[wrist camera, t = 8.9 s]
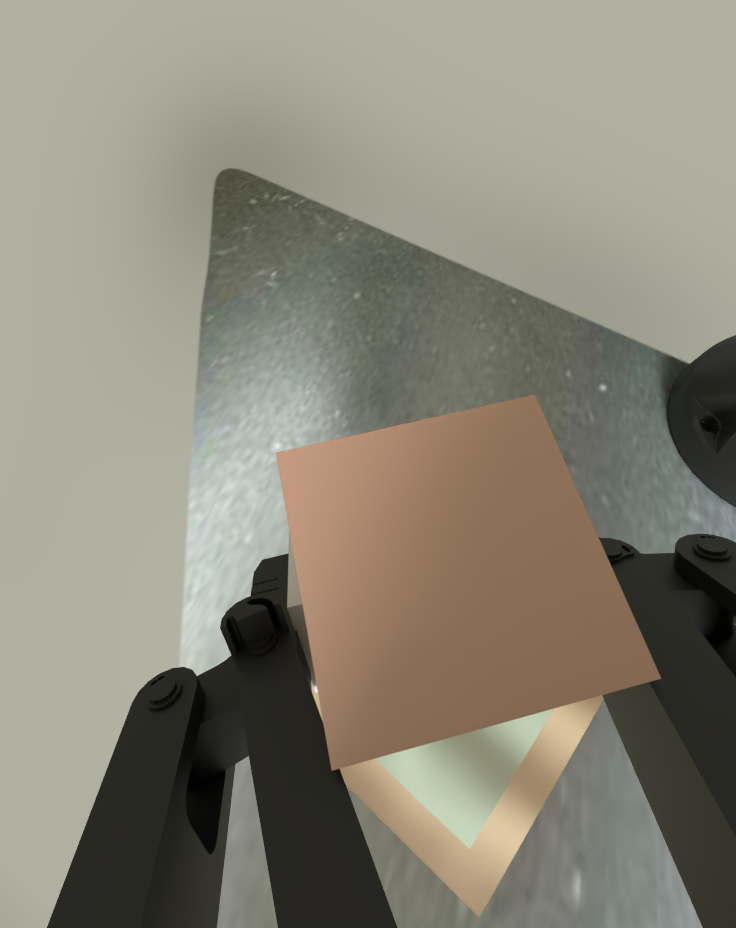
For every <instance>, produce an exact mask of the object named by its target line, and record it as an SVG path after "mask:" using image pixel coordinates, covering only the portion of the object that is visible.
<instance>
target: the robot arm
mask: <svg viewBox="0 0 736 928" xmlns="http://www.w3.org/2000/svg"><path fill="white" fill-rule="evenodd" d="M669 423H670V427H671V431H672V435H673V438H674V441H675V443H676V445H677V447H678V450H679V451H680V453H681V455H682V457H683V458H684V460H685V462H686V463H687V464H688V466H689V467H690V469H691V470H692V471H693V472H694V474H695V475H696V476H697V477H698V478H699V479H700V480H701V481H702V482H703V483H704V484H705V485H706V486H707V487H708V488H709V489H710V490H712V491H713V492H714V493H715V494H717V495H718V496H719V497H720V498H722V499H723V500H725V501H726V502H728V503H729V504H731V505H733V506H734V507H736V335H735V336H733V337H730V338H728V339H725V340H723V341H721V342H719V343H718V344H716V345H714V346H713V347H711V348H710V349H708V350H707V351H706V352H704V353H703V354H702V355H701V356H699V357H698V358H697V359H695V360H694V361H693V362H692V363H691V364H689V365H688V366H687V367H686V368H685V369H684V370H683V371H682V372H681V374H680V375H679V376H678V378H677V380H676V382H675V384H674V386H673V388H672V391H671V395H670V399H669ZM599 540H600V542H601V544H602V546H603V549H604V551H605V553H606V555H607V558H608V560H609V562H610V564H611V567H612V569H613V571H614V573H615V576H616V578H617V580H618V582H619V585H620V587H621V589H622V591H623V594H624V596H625V598H626V600H627V603H628V605H629V607H630V609H631V612H632V614H633V616H634V618H635V621H636V623H637V625H638V627H639V629H640V632H641V634H642V636H643V638H644V641H645V643H646V645H647V647H648V650H649V652H650V654H651V656H652V659H653V661H654V663H655V665H656V668H657V670H658V672H659V674H660V677H661V679H658V680H654V681H651V682H647V683H644V684H640V685H637V686H633V687H629V688H626V689H622V690H619V691H615V692H611V693H608V694H604V695H602V696H603V698H604V700H605V703H606V705H607V707H608V710H609V712H610V714H611V717H612V719H613V721H614V724H615V726H616V728H617V730H618V733H619V735H620V737H621V740H622V742H623V744H624V747H625V749H626V751H627V754H628V756H629V758H630V760H631V763H632V765H633V767H634V770H635V772H636V774H637V777H638V779H639V781H640V784H641V786H642V788H643V791H644V793H645V795H646V797H647V800H648V802H649V804H650V807H651V809H652V811H653V814H654V816H655V818H656V821H657V823H658V825H659V827H660V830H661V832H662V834H663V837H664V839H665V841H666V844H667V846H668V848H669V851H670V853H671V855H672V857H673V860H674V862H675V864H676V867H677V869H678V871H679V874H680V876H681V878H682V881H683V883H684V885H685V888H686V890H687V892H688V894H689V897H690V899H691V901H692V904H693V906H694V908H695V911H696V913H697V915H698V918H699V920H700V922H701V924H702V927H703V928H736V543H735V542H733V541H731V540H729V539H727V538H723V537H719V536H715V535H709V534H693V535H687V536H684V537H682V538H680V539H679V540H678V541H677V543H676V546H675V553H661V554H640V553H639V552H638V551H637V550H636V549H635V548H634V547H633V546H631V545H629V544H627V543H625V542H623V541H620V540H615V539H611V538H599ZM252 585H253V586H252V590H251V596H250V597H247V598H245V599H243V600H241V601H239V602H237V603H236V604H235V605H233V606H232V607H231V608H230V609H229V610H228V611H227V612H226V614H225V615H224V617H223V618H222V620H221V627H220V629H221V631H222V633H223V636H224V638H225V640H226V643H227V645H228V648H229V650H230V652H231V656H230V657H229V658H228V659H227V660H225V661H224V662H222V663H221V664H219V665H217V666H216V667H214V668H212V669H210V670H208V671H206V672H204V673H202V674H200V675H198V676H196V674H195V673H194V672H193V670H191V669H188V668H185V667H180V668H172V669H170V670H167V671H165V672H162V673H160V674H159V675H157V676H156V677H154V678H153V679H152V680H150V681H149V682H147V684H146V685H145V686H144V687H143V688H142V689H141V690H140V691H139V692H138V694H137V696H136V697H135V699H134V701H133V702H132V705H131V707H130V710H129V713H128V715H127V718H126V721H125V724H124V726H123V728H122V731H121V734H120V736H119V739H118V742H117V744H116V747H115V750H114V752H113V755H112V757H111V760H110V763H109V765H108V768H107V771H106V773H105V776H104V779H103V781H102V784H101V786H100V789H99V792H98V795H97V797H96V800H95V803H94V805H93V808H92V810H91V813H90V816H89V818H88V821H87V823H86V826H85V829H84V831H83V834H82V837H81V840H80V842H79V845H78V847H77V850H76V853H75V855H74V858H73V860H72V863H71V866H70V868H69V871H68V874H67V876H66V879H65V881H64V884H63V887H62V889H61V892H60V895H59V897H58V900H57V903H56V905H55V908H54V911H53V913H52V916H51V918H50V921H49V924H48V926H47V928H217V920H218V911H219V902H220V893H221V885H222V876H223V867H224V858H225V850H226V841H227V832H228V823H229V815H230V806H231V797H232V788H233V780H234V771H235V764H236V763H238V762H239V761H241V760H243V759H244V758H246V757H248V756H249V758H250V764H251V770H252V776H253V782H254V788H255V794H256V800H257V806H258V812H259V818H260V823H261V829H262V835H263V841H264V847H265V853H266V859H267V865H268V871H269V877H270V882H271V888H272V894H273V900H274V906H275V912H276V918H277V924H278V928H397V925H396V923H395V920H394V917H393V914H392V912H391V909H390V906H389V903H388V901H387V898H386V895H385V892H384V890H383V887H382V884H381V881H380V879H379V876H378V873H377V870H376V868H375V865H374V862H373V859H372V856H371V854H370V851H369V848H368V845H367V843H366V840H365V837H364V834H363V832H362V829H361V826H360V823H359V821H358V818H357V815H356V812H355V810H354V807H353V804H352V801H351V799H350V796H349V793H348V790H347V788H346V785H345V782H344V779H343V776H342V774H341V771H340V769H336V770H333V771H332V770H331V764H330V758H329V753H328V747H327V741H326V735H325V730H324V724H323V721H322V719H321V716H320V713H319V710H318V707H317V705H316V702H315V699H314V696H313V694H312V685H311V681H312V684H313V687H314V690H315V693H317V692H318V690H317V684H316V678H315V673H314V667H313V661H312V655H311V650H310V644H309V638H308V633H307V627H306V621H305V616H304V610H303V604H302V598H301V593H300V587H299V581H298V576H297V570H296V564H295V558H294V553H293V547H292V541H291V536H290V530H289V554H285V555H281V556H276V557H272V558H268V559H264V560H262V561H261V563H260V564H259V566H258V567H257V569H256V570H255V571H254V576H253V583H252Z"/></svg>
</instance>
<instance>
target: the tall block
mask: <svg viewBox="0 0 736 928" xmlns="http://www.w3.org/2000/svg"><path fill="white" fill-rule="evenodd" d="M276 456H277V461H278V467H279V473H280V478H281V484H282V490H283V496H284V501H285V507H286V513H287V518H288V524H289V530H290V536H291V541H292V547H293V553H294V558H295V564H296V570H297V576H298V581H299V587H300V593H301V598H302V604H303V610H304V616H305V621H306V627H307V633H308V638H309V644H310V650H311V655H312V661H313V667H314V673H315V678H316V684H317V690H318V695H319V701H320V707H321V713H322V718H323V724H324V730H325V735H326V741H327V747H328V753H329V758H330V764H331V770H332V771H333V770H336V769H340V768H343V767H347V766H350V765H354V764H358V763H361V762H365V761H368V760H372V759H376V758H379V757H383V756H386V755H390V754H393V753H397V752H401V751H404V750H408V749H411V748H415V747H418V746H422V745H426V744H429V743H433V742H436V741H440V740H443V739H447V738H451V737H454V736H458V735H461V734H465V733H468V732H472V731H476V730H479V729H483V728H486V727H490V726H493V725H497V724H501V723H504V722H508V721H511V720H515V719H519V718H522V717H526V716H529V715H533V714H536V713H540V712H544V711H547V710H551V709H554V708H558V707H561V706H565V705H569V704H572V703H576V702H579V701H583V700H586V699H590V698H594V697H597V696H601V695H604V694H608V693H611V692H615V691H619V690H622V689H626V688H629V687H633V686H637V685H640V684H644V683H647V682H651V681H654V680H658V679H661V677H660V674H659V672H658V670H657V668H656V665H655V663H654V661H653V659H652V656H651V654H650V652H649V650H648V647H647V645H646V643H645V641H644V638H643V636H642V634H641V632H640V629H639V627H638V625H637V623H636V621H635V618H634V616H633V614H632V612H631V609H630V607H629V605H628V603H627V600H626V598H625V596H624V594H623V591H622V589H621V587H620V585H619V582H618V580H617V578H616V576H615V573H614V571H613V569H612V567H611V564H610V562H609V560H608V558H607V555H606V553H605V551H604V549H603V546H602V544H601V542H600V540H599V537H598V535H597V533H596V531H595V528H594V526H593V524H592V522H591V519H590V517H589V515H588V513H587V510H586V508H585V506H584V504H583V501H582V499H581V497H580V495H579V492H578V490H577V488H576V486H575V483H574V481H573V479H572V477H571V474H570V472H569V470H568V468H567V465H566V463H565V461H564V459H563V456H562V454H561V452H560V450H559V447H558V445H557V443H556V441H555V438H554V436H553V434H552V432H551V429H550V427H549V425H548V423H547V420H546V418H545V416H544V414H543V411H542V409H541V407H540V405H539V402H538V400H537V398H536V396H535V394H534V395H530V396H525V397H521V398H517V399H512V400H508V401H503V402H499V403H495V404H490V405H486V406H481V407H477V408H472V409H468V410H464V411H459V412H455V413H450V414H446V415H441V416H437V417H433V418H428V419H424V420H419V421H415V422H410V423H406V424H402V425H397V426H393V427H388V428H384V429H379V430H375V431H371V432H366V433H362V434H357V435H353V436H348V437H344V438H340V439H335V440H331V441H326V442H322V443H317V444H313V445H309V446H304V447H300V448H295V449H291V450H286V451H282V452H278V453H276Z"/></svg>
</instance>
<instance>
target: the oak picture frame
mask: <svg viewBox="0 0 736 928" xmlns="http://www.w3.org/2000/svg"><path fill="white" fill-rule="evenodd" d="M311 685H312V694H313V696H314V699H315V702H316V705H317V707H318V710H319V713H320V716H321V719H322V721H323V718H322V713H321V707H320V701H319V695H318V692H317V693H315V690H314V687H313V684H312V681H311ZM603 699H604V698H603V696H602V695H601V696H597V697H594V698H590V699H586V700H583V701H579V702H576V703H572V704H569V705H565V706H561V707H558V708H554V709H551V710H547V711H544V712H540V713H536V714H533V715H529V716H526V717H522V718H519V719H515V720H511V721H508V722H504V723H501V724H497V725H493V726H490V727H486V728H483V729H479V730H476V731H472V732H468V733H465V734H461V735H458V736H454V737H451V738H447V739H443V740H440V741H436V742H433V743H429V744H426V745H422V746H418V747H415V748H411V749H408V750H404V751H401V752H397V753H393V754H390V755H386V756H383V757H379V758H376V759H372V760H368V761H365V762H361V763H358V764H354V765H350V766H347V767H343V768H340V771H341V774H342V776H343V779H344V782H345V784H346V785H347V786H348V787H349V788H350V789H351V790H352V791H353V792H354V793H355V794H356V795H357V796H358V797H359V798H360V799H361V800H362V801H363V802H364V803H365V804H366V805H367V806H368V807H369V808H370V809H371V810H372V811H373V812H374V813H375V814H376V815H377V816H378V817H379V818H380V819H381V820H382V821H383V822H384V823H385V824H386V825H387V826H388V827H389V828H390V829H391V830H392V831H393V832H394V833H395V834H396V835H397V836H398V837H399V838H400V839H401V840H402V841H403V842H404V843H405V844H406V845H407V846H408V847H409V848H410V849H411V850H412V851H413V852H414V853H415V854H416V855H417V856H418V857H419V858H420V859H421V860H422V861H423V862H424V863H425V864H426V865H427V866H428V867H429V868H430V869H431V870H432V871H433V872H434V873H435V874H436V875H437V876H438V877H439V878H440V879H441V880H442V881H443V882H444V883H445V884H446V885H447V886H448V887H449V888H450V889H451V890H452V891H453V892H454V893H455V894H456V895H457V896H458V897H459V898H460V899H461V900H462V901H463V902H464V903H465V904H466V905H467V906H468V907H469V908H470V909H471V910H472V911H473V912H474V913H475V914H476V915H477V916H478V917H480V915H481V913H482V912H483V910H484V908H485V906H486V905H487V903H488V901H489V899H490V898H491V896H492V894H493V892H494V891H495V889H496V887H497V885H498V884H499V882H500V880H501V878H502V877H503V875H504V873H505V871H506V870H507V868H508V866H509V864H510V863H511V861H512V859H513V857H514V856H515V854H516V852H517V850H518V849H519V847H520V845H521V843H522V841H523V840H524V838H525V836H526V834H527V833H528V831H529V829H530V827H531V826H532V824H533V822H534V820H535V819H536V817H537V815H538V813H539V812H540V810H541V808H542V806H543V805H544V803H545V801H546V799H547V798H548V796H549V794H550V792H551V791H552V789H553V787H554V785H555V784H556V782H557V780H558V778H559V777H560V775H561V773H562V771H563V769H564V768H565V766H566V764H567V762H568V761H569V759H570V757H571V755H572V754H573V752H574V750H575V748H576V747H577V745H578V743H579V741H580V740H581V738H582V736H583V734H584V733H585V731H586V729H587V727H588V726H589V724H590V722H591V720H592V719H593V717H594V715H595V713H596V712H597V710H598V708H599V706H600V705H601V703H602V701H603Z"/></svg>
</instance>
